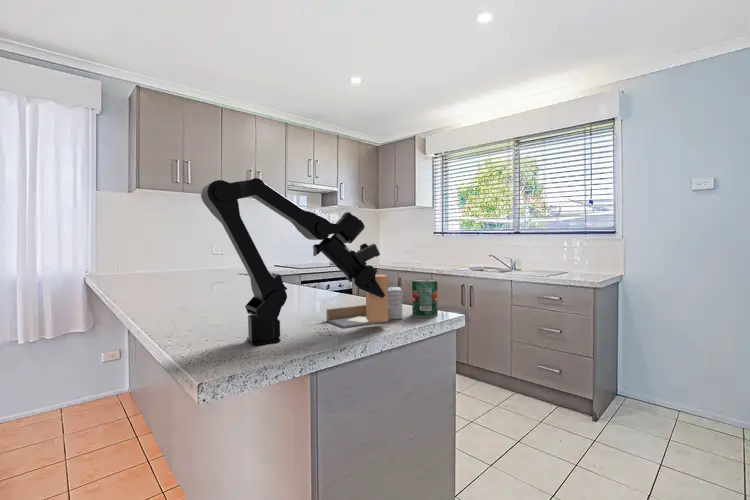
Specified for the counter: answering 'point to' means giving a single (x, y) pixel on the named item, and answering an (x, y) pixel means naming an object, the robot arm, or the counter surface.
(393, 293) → the medicine box
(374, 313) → the terracotta block
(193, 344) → the counter surface
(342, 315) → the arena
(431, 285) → the canned tomato
